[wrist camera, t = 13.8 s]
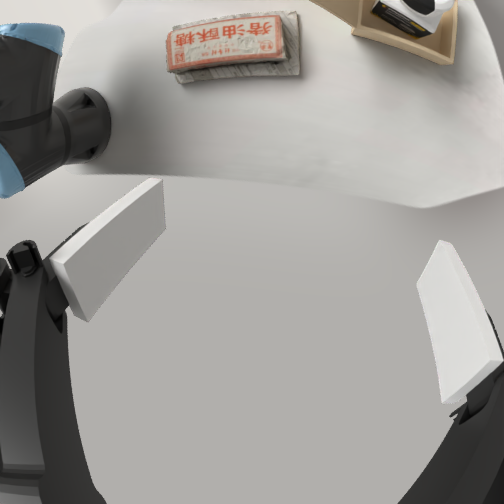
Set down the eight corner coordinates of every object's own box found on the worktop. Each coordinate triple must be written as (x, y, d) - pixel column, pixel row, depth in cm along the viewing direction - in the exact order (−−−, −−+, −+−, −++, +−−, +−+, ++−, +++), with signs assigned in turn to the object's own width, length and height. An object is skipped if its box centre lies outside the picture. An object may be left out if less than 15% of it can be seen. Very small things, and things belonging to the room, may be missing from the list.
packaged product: (163, 86, 31) (159, 23, 26) (179, 84, 35) (175, 27, 29) (298, 74, 27) (294, 3, 22) (300, 76, 31) (297, 12, 26)
